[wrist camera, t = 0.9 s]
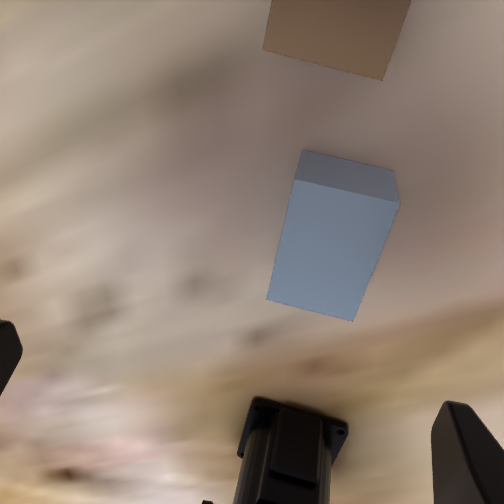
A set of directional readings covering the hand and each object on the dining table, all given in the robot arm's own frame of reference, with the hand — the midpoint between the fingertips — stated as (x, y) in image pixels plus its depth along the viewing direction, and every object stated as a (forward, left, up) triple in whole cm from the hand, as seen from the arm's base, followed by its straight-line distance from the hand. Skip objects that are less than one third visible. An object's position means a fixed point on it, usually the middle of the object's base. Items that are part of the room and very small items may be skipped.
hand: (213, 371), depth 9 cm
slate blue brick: (-2, -3, -13) cm, 13 cm away
